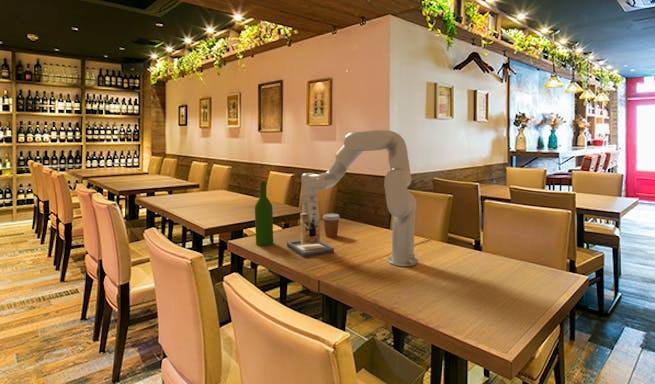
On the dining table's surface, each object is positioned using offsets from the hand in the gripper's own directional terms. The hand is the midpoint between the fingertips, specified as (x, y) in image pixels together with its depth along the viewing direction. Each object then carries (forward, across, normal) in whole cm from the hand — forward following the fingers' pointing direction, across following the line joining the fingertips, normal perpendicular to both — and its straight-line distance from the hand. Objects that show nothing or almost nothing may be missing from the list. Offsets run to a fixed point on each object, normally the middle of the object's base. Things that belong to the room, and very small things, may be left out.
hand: (310, 234), depth 198 cm
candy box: (+5, 0, 0) cm, 5 cm away
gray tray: (+8, 0, 0) cm, 8 cm away
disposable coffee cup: (+8, +18, -22) cm, 29 cm away
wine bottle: (+8, +21, +16) cm, 28 cm away
